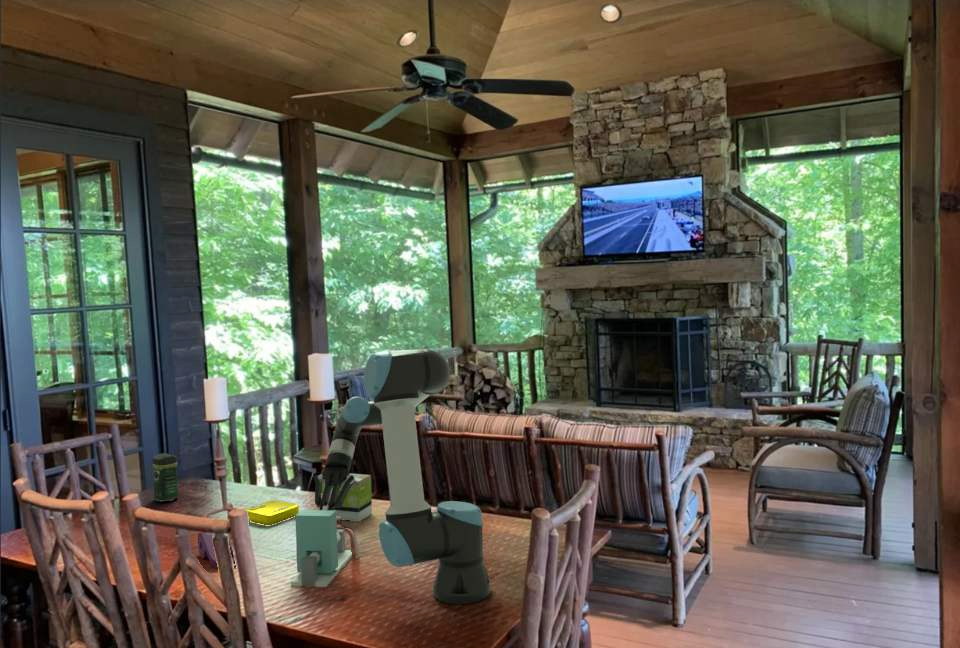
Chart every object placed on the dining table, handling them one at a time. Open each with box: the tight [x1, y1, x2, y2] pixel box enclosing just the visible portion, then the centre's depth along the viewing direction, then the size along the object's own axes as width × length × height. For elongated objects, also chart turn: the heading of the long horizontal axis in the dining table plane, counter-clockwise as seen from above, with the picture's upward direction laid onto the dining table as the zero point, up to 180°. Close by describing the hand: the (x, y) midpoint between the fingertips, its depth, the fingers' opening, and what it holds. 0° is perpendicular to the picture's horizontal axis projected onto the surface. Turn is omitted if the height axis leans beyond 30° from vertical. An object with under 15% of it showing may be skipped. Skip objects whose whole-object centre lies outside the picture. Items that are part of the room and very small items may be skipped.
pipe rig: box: [290, 528, 353, 588], centre depth 196 cm, size 24×10×8 cm, turn 172°
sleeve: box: [294, 509, 338, 573], centre depth 191 cm, size 5×10×16 cm, turn 82°
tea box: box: [321, 472, 373, 523], centre depth 244 cm, size 15×10×15 cm
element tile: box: [244, 499, 300, 525], centre depth 245 cm, size 15×15×5 cm
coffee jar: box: [152, 452, 179, 500], centre depth 272 cm, size 10×8×19 cm
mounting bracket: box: [197, 533, 235, 568], centre depth 207 cm, size 9×8×18 cm
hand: (321, 528), depth 195 cm, fingers closed
